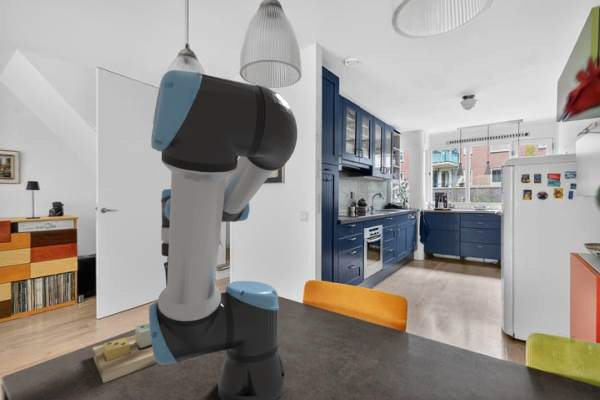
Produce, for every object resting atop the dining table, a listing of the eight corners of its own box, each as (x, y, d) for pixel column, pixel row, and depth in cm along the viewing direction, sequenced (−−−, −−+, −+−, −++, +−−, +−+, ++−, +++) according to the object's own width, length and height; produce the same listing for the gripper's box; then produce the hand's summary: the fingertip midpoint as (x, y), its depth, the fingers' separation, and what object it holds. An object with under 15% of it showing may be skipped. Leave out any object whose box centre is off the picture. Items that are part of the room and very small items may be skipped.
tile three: (129, 359, 74) (129, 343, 74) (106, 367, 71) (106, 350, 71) (125, 351, 78) (125, 336, 78) (103, 358, 74) (103, 343, 74)
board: (199, 347, 82) (199, 338, 82) (103, 383, 66) (103, 372, 66) (179, 329, 93) (179, 322, 93) (92, 356, 77) (92, 347, 77)
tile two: (160, 341, 79) (160, 326, 79) (140, 347, 76) (140, 332, 76) (154, 335, 83) (154, 321, 83) (135, 341, 80) (135, 326, 80)
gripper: (197, 242, 82) (197, 324, 82) (180, 238, 92) (180, 311, 92) (170, 245, 77) (170, 332, 77) (154, 240, 87) (154, 318, 86)
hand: (175, 321), depth 84 cm, fingers closed
